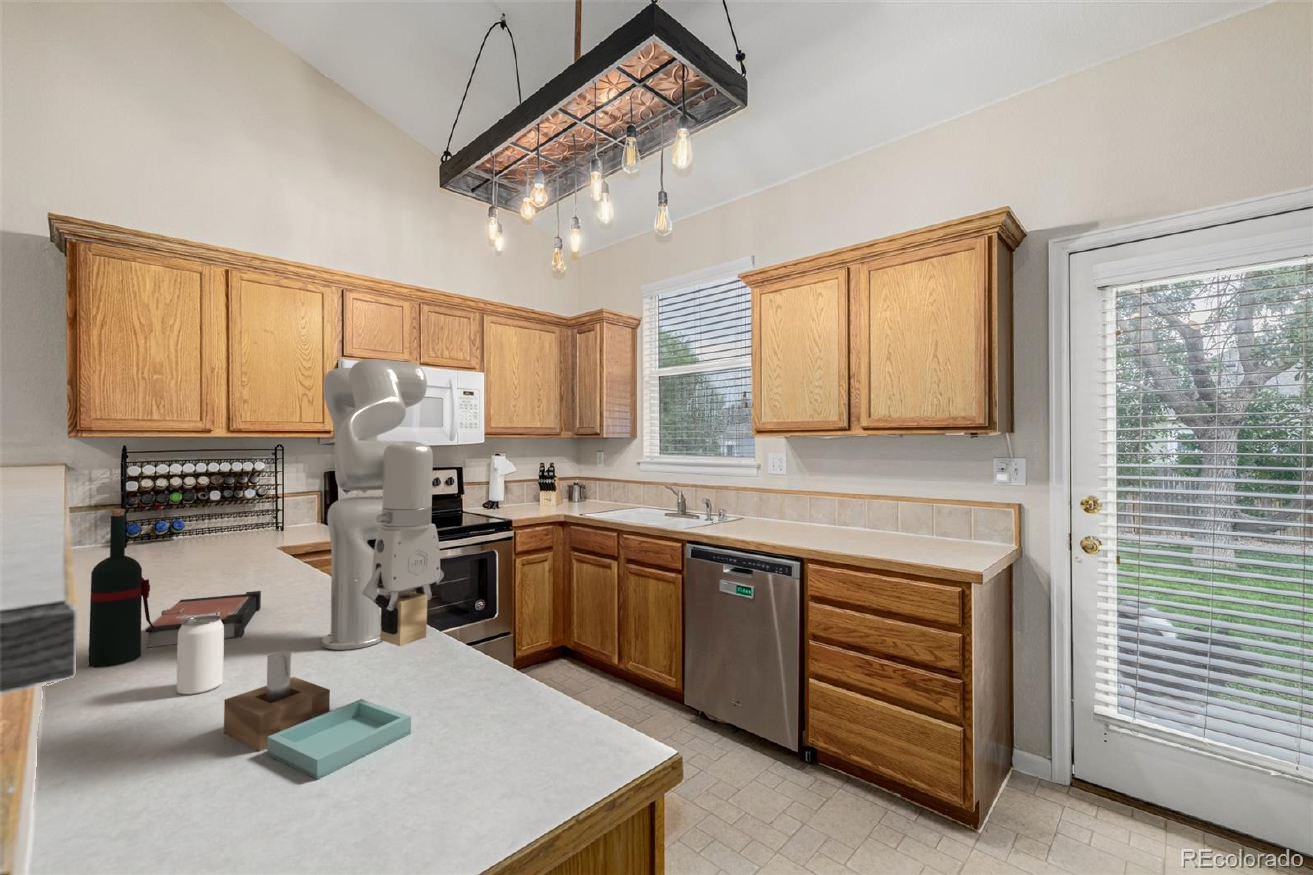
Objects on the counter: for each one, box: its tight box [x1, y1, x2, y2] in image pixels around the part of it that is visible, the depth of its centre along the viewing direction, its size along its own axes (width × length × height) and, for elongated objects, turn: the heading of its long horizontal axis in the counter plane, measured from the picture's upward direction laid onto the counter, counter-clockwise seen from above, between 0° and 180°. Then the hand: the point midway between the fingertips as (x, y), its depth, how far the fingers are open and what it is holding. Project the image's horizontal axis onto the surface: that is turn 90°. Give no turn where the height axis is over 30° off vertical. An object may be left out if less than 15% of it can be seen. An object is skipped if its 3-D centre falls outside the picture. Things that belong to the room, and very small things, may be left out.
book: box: [145, 590, 262, 649], centre depth 138 cm, size 26×18×5 cm
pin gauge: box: [266, 650, 292, 703], centre depth 89 cm, size 3×3×10 cm
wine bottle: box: [87, 508, 156, 669], centre depth 117 cm, size 8×10×30 cm
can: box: [176, 615, 225, 696], centre depth 103 cm, size 6×6×12 cm
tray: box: [266, 698, 412, 780], centre depth 84 cm, size 14×12×2 cm
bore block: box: [223, 676, 331, 752], centre depth 88 cm, size 10×10×5 cm
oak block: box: [380, 590, 428, 647], centre depth 96 cm, size 5×5×7 cm
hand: (404, 626), depth 96 cm, fingers closed on oak block, 5 cm apart
